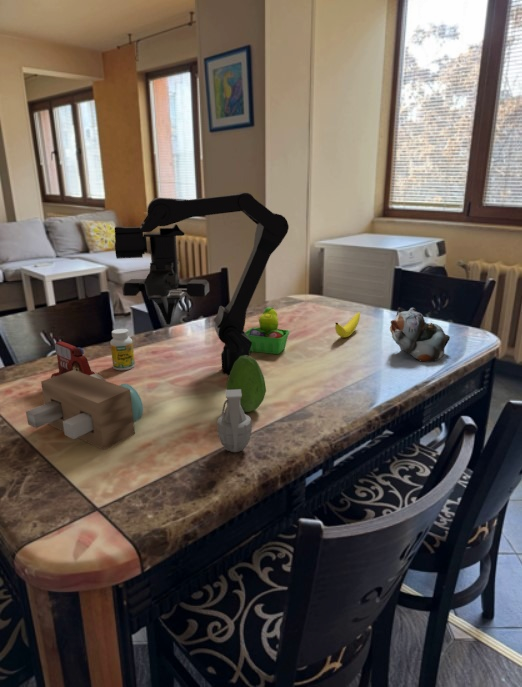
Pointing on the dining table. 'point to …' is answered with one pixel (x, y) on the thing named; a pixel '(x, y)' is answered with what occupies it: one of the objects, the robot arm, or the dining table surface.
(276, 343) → the fruit basket
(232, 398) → the hand grenade
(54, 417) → the walnut mount
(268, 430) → the dining table surface
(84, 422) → the teal knob
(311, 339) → the dining table surface
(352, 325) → the banana
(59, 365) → the toy fire truck
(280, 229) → the robot arm
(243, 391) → the avocado
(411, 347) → the lucky cat figurine
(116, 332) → the supplement bottle
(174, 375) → the dining table surface
